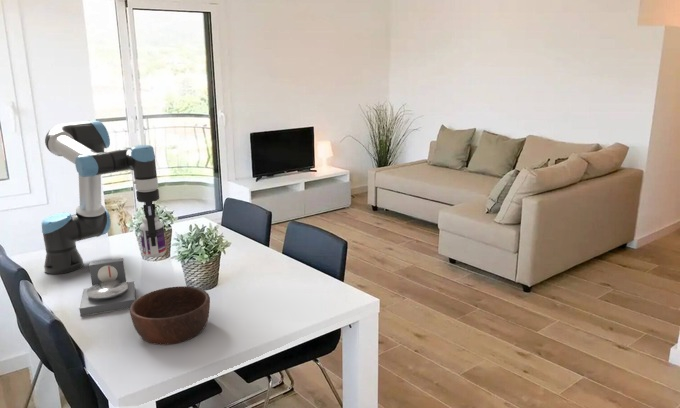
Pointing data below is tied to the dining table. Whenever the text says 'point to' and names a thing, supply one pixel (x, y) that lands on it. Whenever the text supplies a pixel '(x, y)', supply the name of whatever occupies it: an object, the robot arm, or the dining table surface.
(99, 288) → the scale pan
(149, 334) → the wooden bowl
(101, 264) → the dial scale
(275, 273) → the dining table surface
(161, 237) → the pill bottle
